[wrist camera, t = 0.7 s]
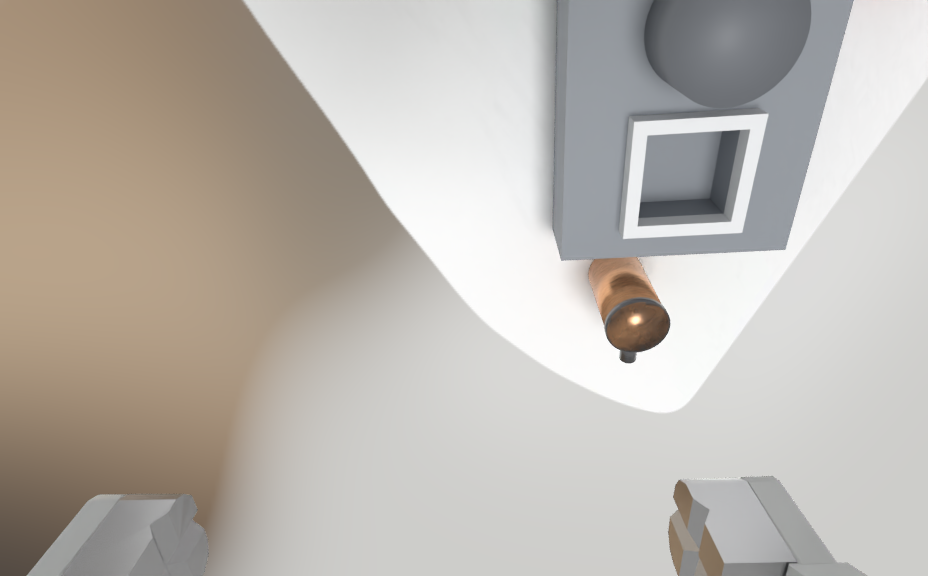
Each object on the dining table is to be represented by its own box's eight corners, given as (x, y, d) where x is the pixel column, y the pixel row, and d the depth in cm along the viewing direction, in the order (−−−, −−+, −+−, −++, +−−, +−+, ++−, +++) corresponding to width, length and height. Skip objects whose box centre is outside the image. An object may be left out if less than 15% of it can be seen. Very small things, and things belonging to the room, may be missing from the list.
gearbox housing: (558, -53, 39) (583, -53, 29) (821, -74, 38) (934, -81, 28) (552, 228, 50) (569, 292, 41) (753, 218, 49) (818, 281, 40)
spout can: (588, 249, 51) (608, 302, 44) (644, 247, 51) (674, 299, 43) (584, 313, 55) (602, 372, 47) (637, 311, 55) (662, 370, 47)
